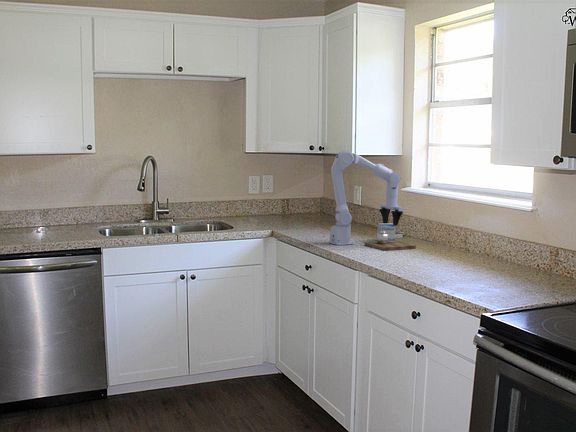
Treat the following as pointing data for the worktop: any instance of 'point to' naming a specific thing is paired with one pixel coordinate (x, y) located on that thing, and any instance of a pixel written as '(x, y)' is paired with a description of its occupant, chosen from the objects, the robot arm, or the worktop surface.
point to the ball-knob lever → (383, 237)
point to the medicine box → (386, 229)
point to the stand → (390, 245)
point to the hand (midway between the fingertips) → (390, 224)
